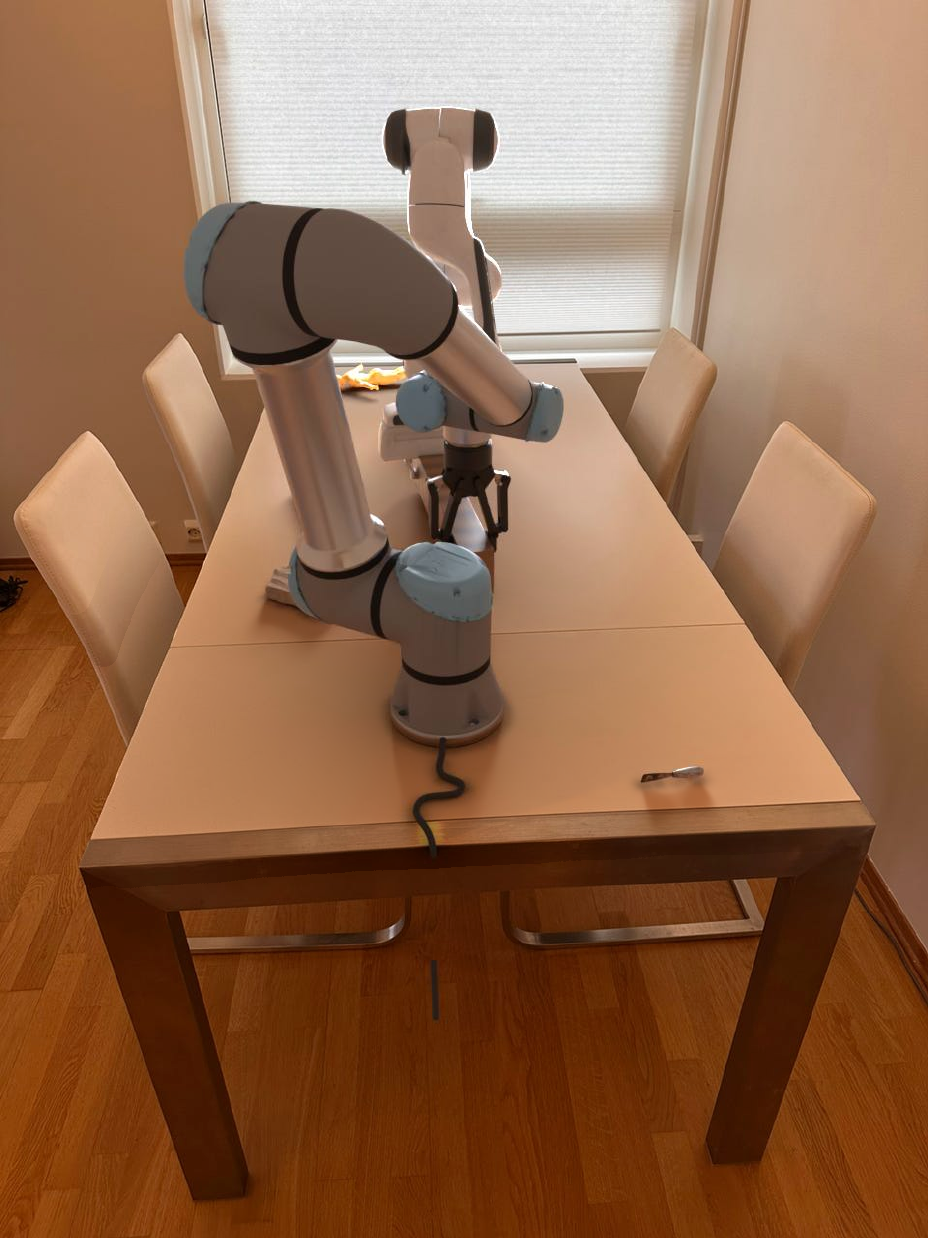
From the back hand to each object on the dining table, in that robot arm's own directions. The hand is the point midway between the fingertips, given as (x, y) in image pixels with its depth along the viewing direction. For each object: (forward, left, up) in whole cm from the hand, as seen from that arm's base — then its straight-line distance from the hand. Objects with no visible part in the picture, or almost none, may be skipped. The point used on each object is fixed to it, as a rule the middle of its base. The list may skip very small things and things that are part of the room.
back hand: (430, 476), depth 178 cm
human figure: (-75, +15, -5) cm, 77 cm away
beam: (+18, -4, -3) cm, 18 cm away
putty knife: (+90, -5, -5) cm, 90 cm away
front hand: (+35, -8, -2) cm, 36 cm away
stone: (+28, -34, -5) cm, 44 cm away
